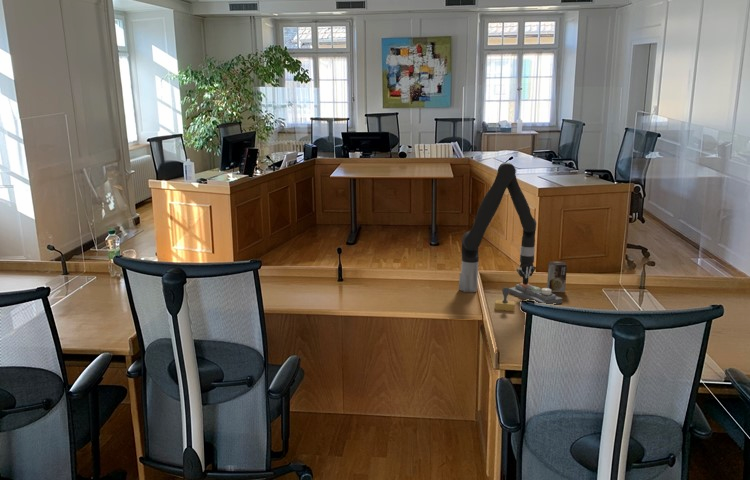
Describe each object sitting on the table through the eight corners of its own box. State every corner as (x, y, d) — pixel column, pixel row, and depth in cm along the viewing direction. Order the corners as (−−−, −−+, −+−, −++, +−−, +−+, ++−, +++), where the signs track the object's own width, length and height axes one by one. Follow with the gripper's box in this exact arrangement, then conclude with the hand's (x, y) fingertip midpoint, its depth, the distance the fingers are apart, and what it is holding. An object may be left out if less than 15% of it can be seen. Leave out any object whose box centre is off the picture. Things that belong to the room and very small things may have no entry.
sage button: (535, 294, 333) (535, 290, 332) (528, 291, 337) (528, 287, 337) (541, 293, 336) (542, 288, 335) (535, 290, 340) (535, 286, 339)
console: (542, 307, 323) (543, 299, 322) (508, 292, 345) (509, 284, 343) (561, 302, 330) (562, 294, 329) (527, 288, 351) (527, 281, 350)
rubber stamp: (494, 310, 318) (496, 287, 315) (495, 306, 324) (496, 284, 321) (514, 311, 316) (516, 289, 313) (514, 307, 322) (516, 285, 319)
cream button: (546, 296, 326) (546, 291, 325) (539, 293, 330) (539, 288, 330) (553, 294, 328) (553, 290, 328) (546, 291, 333) (546, 287, 332)
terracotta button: (524, 290, 340) (524, 285, 339) (518, 287, 344) (518, 283, 343) (531, 288, 342) (531, 284, 342) (524, 286, 346) (525, 282, 346)
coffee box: (562, 288, 352) (565, 261, 348) (565, 292, 345) (567, 265, 341) (546, 288, 353) (548, 261, 348) (548, 291, 346) (550, 264, 342)
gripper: (531, 250, 345) (529, 280, 349) (513, 253, 338) (511, 284, 342) (541, 253, 338) (538, 284, 343) (523, 257, 332) (521, 287, 336)
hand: (525, 283), depth 343 cm, fingers closed
